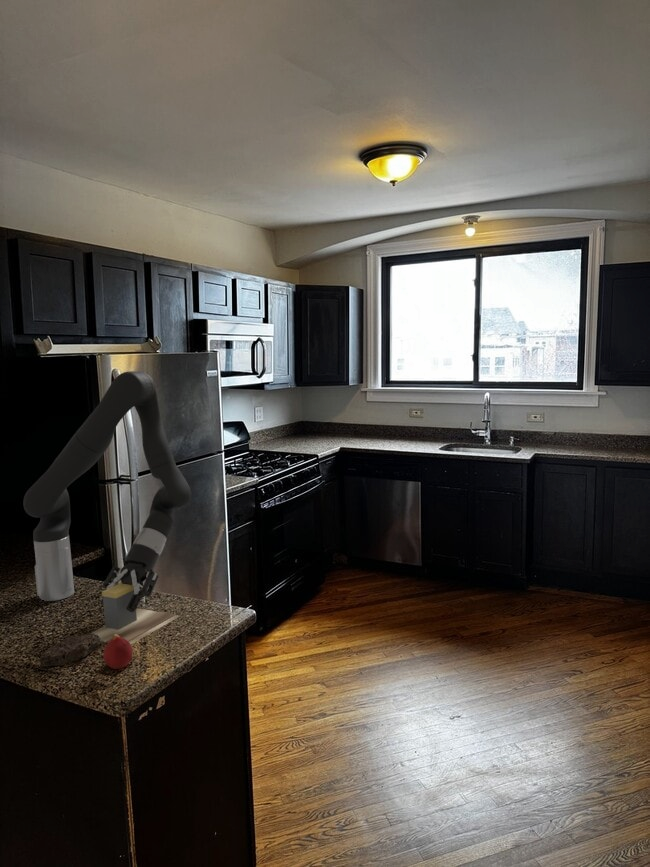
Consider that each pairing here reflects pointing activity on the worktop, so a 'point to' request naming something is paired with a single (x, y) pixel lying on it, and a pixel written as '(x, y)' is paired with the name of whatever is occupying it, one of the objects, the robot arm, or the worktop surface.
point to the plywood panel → (137, 626)
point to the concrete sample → (70, 650)
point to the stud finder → (118, 606)
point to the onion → (118, 653)
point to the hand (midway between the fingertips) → (116, 608)
